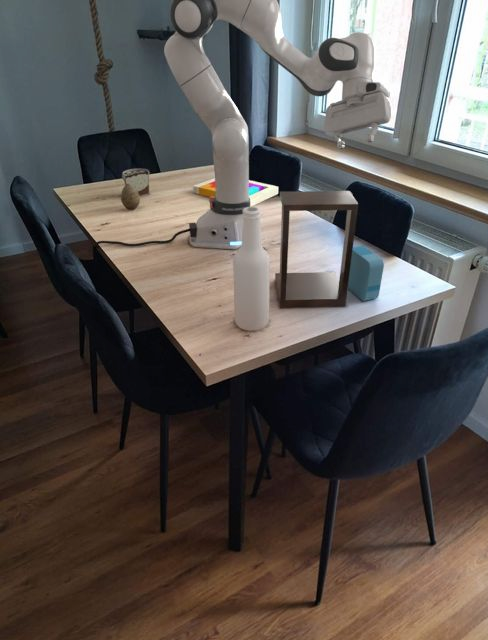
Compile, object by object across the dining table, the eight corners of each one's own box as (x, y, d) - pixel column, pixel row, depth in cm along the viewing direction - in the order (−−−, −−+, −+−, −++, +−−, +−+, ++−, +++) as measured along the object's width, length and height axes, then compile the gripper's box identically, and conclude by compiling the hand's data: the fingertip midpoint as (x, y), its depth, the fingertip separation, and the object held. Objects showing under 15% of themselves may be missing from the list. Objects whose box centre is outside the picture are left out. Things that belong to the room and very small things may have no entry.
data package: (378, 300, 136) (385, 261, 129) (364, 303, 134) (370, 263, 127) (356, 281, 145) (361, 243, 138) (343, 284, 143) (347, 246, 136)
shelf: (279, 308, 132) (283, 204, 115) (275, 280, 145) (277, 184, 128) (345, 306, 133) (358, 204, 116) (334, 279, 146) (345, 183, 129)
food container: (144, 189, 212) (141, 166, 207) (152, 193, 209) (149, 169, 203) (119, 195, 206) (115, 171, 200) (127, 199, 202) (123, 175, 196)
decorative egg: (118, 210, 192) (114, 184, 186) (132, 205, 197) (128, 180, 191) (131, 213, 189) (127, 187, 183) (144, 208, 193) (141, 183, 188)
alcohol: (230, 329, 123) (227, 214, 105) (239, 312, 130) (237, 201, 112) (264, 333, 121) (266, 218, 104) (271, 315, 128) (274, 204, 111)
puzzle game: (224, 181, 224) (179, 198, 204) (223, 174, 222) (179, 191, 202) (278, 193, 210) (236, 213, 190) (278, 186, 208) (236, 205, 188)
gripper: (320, 100, 143) (318, 148, 144) (385, 81, 130) (382, 133, 131) (331, 109, 148) (329, 155, 148) (395, 90, 135) (392, 141, 136)
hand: (354, 144), depth 139 cm, fingers open, 8 cm apart
